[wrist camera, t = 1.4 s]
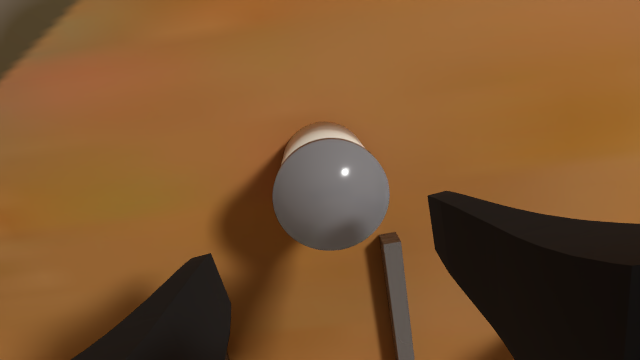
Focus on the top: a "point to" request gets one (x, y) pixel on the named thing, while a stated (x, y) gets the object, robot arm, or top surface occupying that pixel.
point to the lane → (395, 296)
